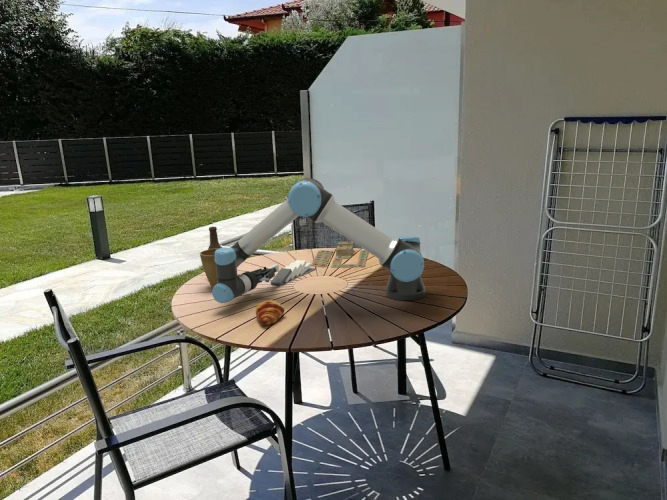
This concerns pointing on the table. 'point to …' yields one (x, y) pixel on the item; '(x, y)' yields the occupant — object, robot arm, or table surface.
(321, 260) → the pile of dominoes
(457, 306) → the table surface
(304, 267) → the domino
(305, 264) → the domino
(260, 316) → the croissant
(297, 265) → the domino
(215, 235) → the beer bottle
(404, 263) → the robot arm
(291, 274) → the domino
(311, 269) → the mat
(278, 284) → the domino
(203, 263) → the plant pot
